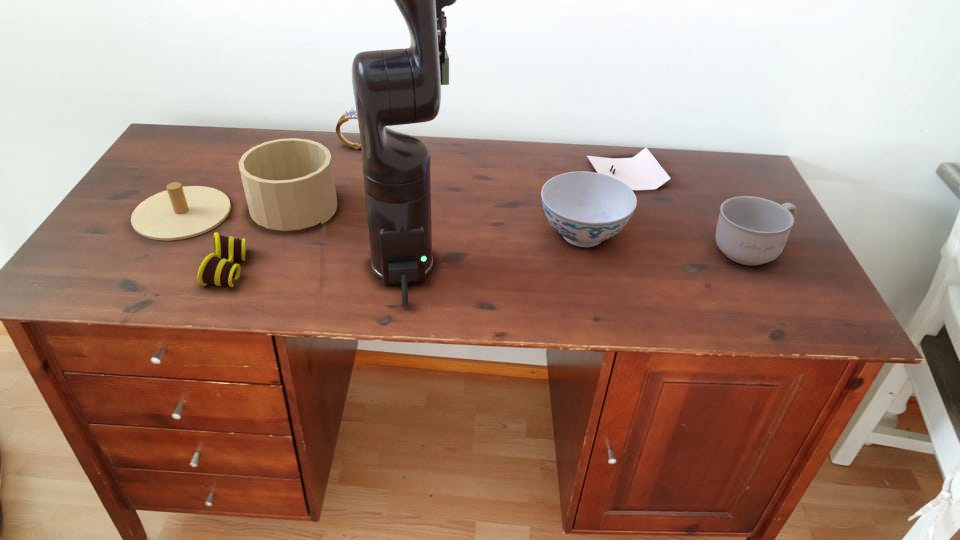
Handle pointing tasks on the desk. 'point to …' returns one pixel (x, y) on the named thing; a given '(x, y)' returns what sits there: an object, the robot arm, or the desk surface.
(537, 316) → the desk surface
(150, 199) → the canister lid
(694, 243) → the desk surface
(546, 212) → the chinaware
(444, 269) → the desk surface
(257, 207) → the canister
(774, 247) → the teacup
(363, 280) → the desk surface
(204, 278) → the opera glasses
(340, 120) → the ring
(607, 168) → the folded paper
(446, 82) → the block
